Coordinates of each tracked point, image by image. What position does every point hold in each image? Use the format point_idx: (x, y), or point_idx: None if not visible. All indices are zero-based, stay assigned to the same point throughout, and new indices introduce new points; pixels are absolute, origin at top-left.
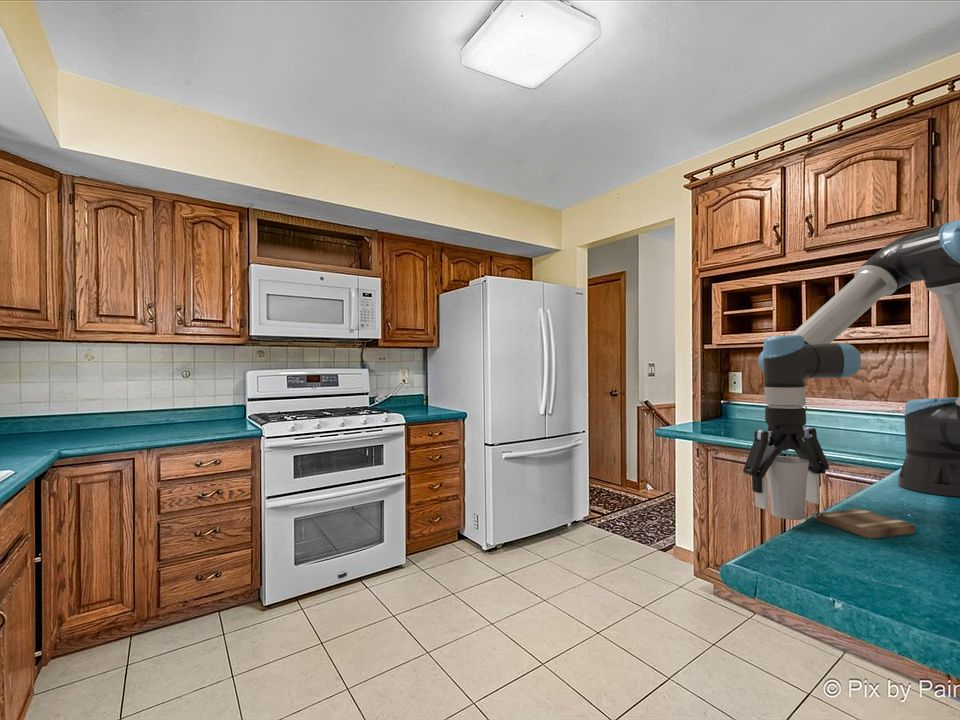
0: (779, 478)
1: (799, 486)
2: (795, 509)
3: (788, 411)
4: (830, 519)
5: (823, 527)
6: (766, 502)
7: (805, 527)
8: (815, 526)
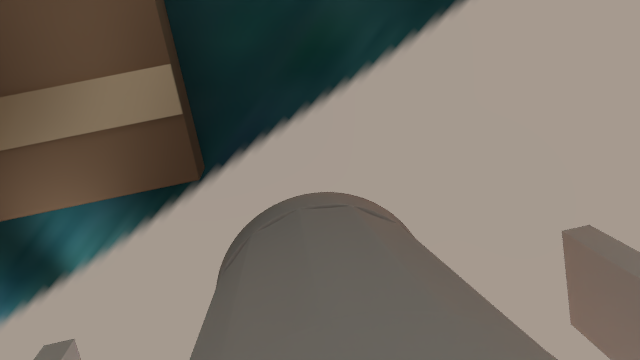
0: None
1: (355, 276)
2: (355, 211)
3: None
4: (168, 51)
5: (259, 15)
6: (608, 246)
7: (387, 29)
8: (301, 42)
